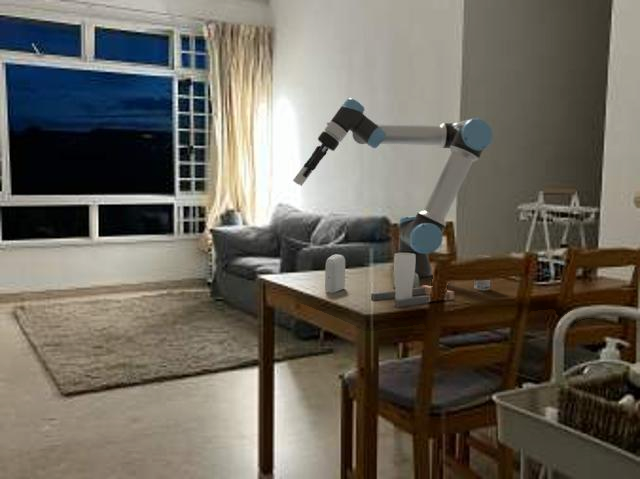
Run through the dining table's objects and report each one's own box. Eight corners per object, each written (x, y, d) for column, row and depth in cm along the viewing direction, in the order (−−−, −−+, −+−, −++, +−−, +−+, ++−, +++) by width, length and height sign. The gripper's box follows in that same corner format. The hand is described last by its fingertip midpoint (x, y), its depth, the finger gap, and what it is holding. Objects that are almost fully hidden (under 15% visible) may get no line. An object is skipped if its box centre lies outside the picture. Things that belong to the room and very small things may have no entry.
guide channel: (425, 292, 223) (425, 285, 223) (453, 299, 212) (453, 291, 212) (371, 299, 209) (371, 291, 209) (398, 307, 199) (398, 299, 198)
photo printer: (335, 293, 218) (335, 257, 217) (323, 292, 220) (324, 256, 219) (346, 288, 228) (347, 253, 226) (335, 287, 229) (335, 252, 228)
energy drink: (490, 288, 232) (491, 255, 231) (488, 291, 227) (490, 257, 226) (474, 287, 234) (476, 254, 233) (473, 289, 229) (474, 256, 228)
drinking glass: (391, 298, 212) (392, 252, 210) (411, 298, 213) (413, 252, 211) (395, 302, 205) (396, 255, 204) (416, 302, 206) (417, 255, 204)
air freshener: (390, 285, 235) (391, 258, 234) (412, 285, 236) (413, 258, 235) (396, 291, 224) (397, 262, 223) (420, 291, 225) (421, 262, 224)
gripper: (320, 132, 249) (286, 176, 250) (327, 128, 224) (290, 177, 225) (335, 144, 250) (302, 188, 251) (344, 141, 226) (308, 190, 226)
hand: (296, 183), depth 238 cm, fingers open, 13 cm apart
